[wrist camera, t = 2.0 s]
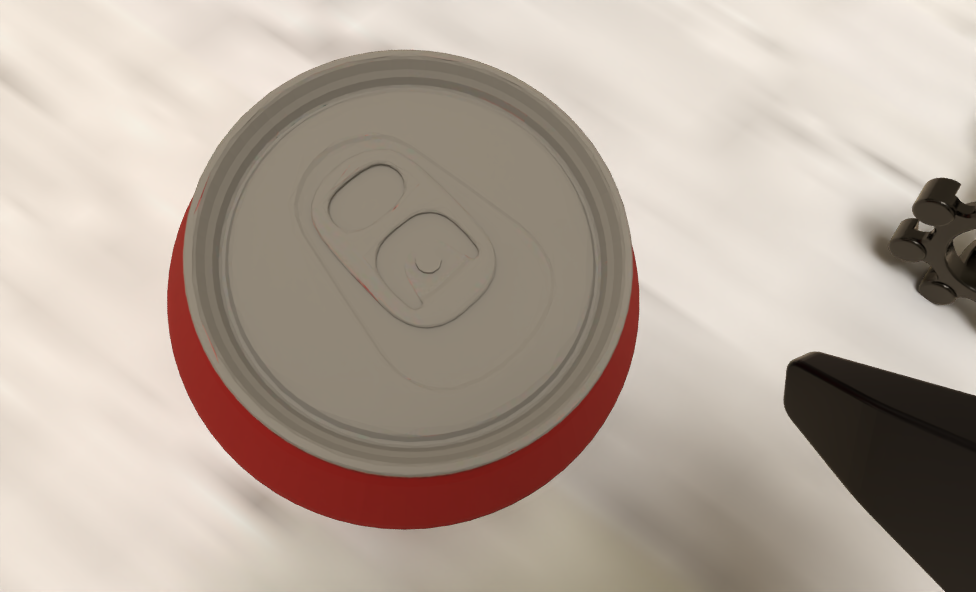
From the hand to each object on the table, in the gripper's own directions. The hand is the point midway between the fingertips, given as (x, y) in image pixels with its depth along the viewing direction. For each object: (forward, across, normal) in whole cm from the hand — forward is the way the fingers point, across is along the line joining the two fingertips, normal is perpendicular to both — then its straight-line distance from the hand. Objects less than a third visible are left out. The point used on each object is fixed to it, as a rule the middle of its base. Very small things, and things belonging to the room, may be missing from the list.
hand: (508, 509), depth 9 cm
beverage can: (+10, 0, +5) cm, 11 cm away
